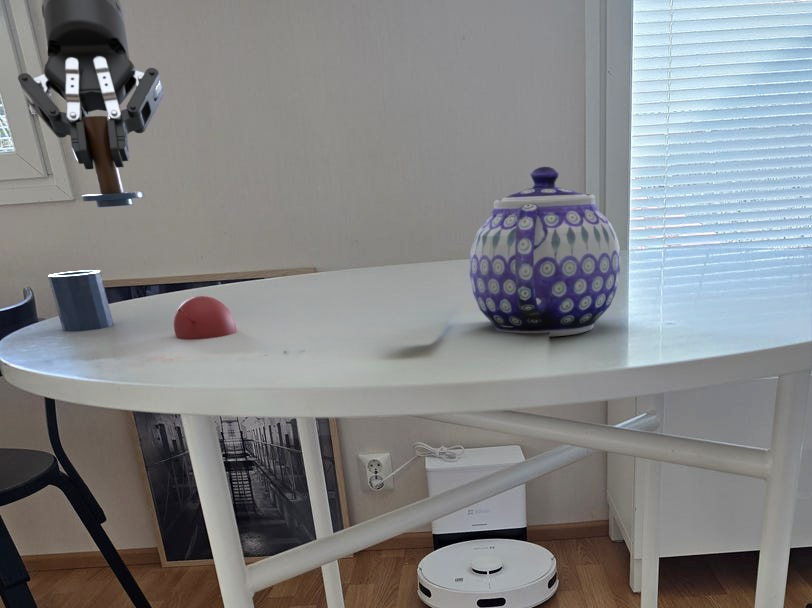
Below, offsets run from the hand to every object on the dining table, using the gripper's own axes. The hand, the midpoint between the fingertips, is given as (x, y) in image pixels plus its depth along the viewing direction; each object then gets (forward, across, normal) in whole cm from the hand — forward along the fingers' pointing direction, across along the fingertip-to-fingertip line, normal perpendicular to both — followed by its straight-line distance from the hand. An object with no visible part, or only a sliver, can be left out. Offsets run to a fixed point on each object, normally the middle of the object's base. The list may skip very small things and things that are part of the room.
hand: (101, 160), depth 81 cm
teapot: (+19, -41, -6) cm, 46 cm away
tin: (+5, +7, -21) cm, 22 cm away
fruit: (+15, -6, -10) cm, 19 cm away
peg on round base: (+1, 0, -4) cm, 4 cm away
